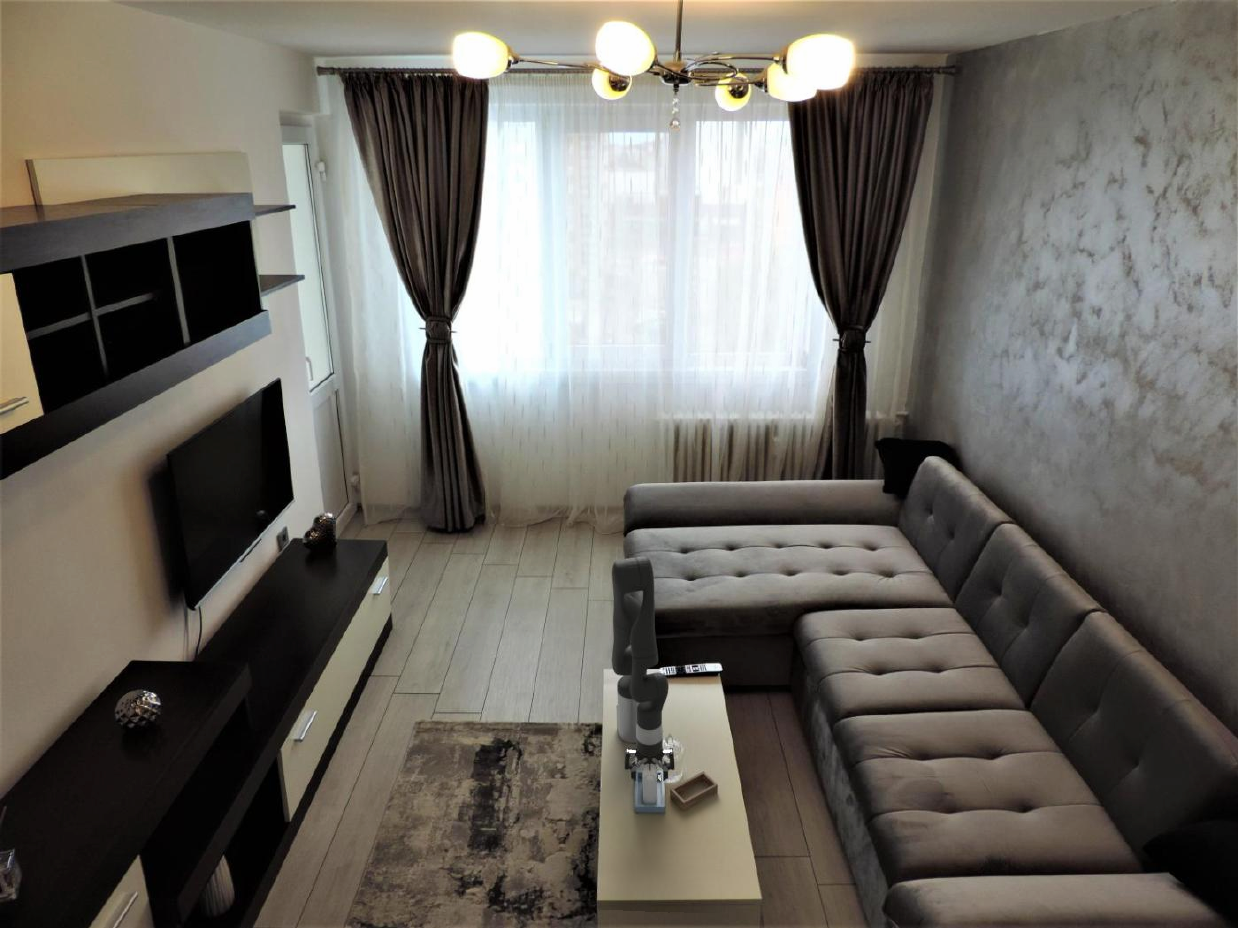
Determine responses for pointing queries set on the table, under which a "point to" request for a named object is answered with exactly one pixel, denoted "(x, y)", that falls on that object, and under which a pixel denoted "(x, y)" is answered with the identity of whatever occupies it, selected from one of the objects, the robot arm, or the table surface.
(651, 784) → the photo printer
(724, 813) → the table surface
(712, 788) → the brown wooden tray
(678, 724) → the table surface
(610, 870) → the table surface
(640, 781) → the slate tray
